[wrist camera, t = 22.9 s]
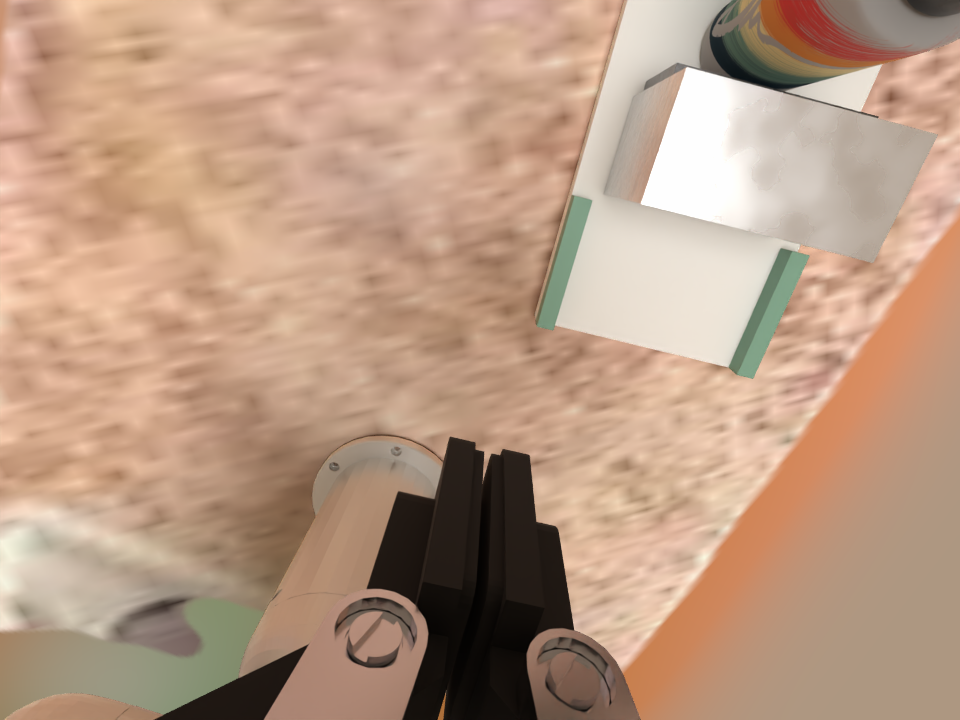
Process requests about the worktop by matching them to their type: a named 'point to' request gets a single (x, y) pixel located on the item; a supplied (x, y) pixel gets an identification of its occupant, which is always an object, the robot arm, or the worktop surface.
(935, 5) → the lotion bottle
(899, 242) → the worktop surface
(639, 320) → the frame
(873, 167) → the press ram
